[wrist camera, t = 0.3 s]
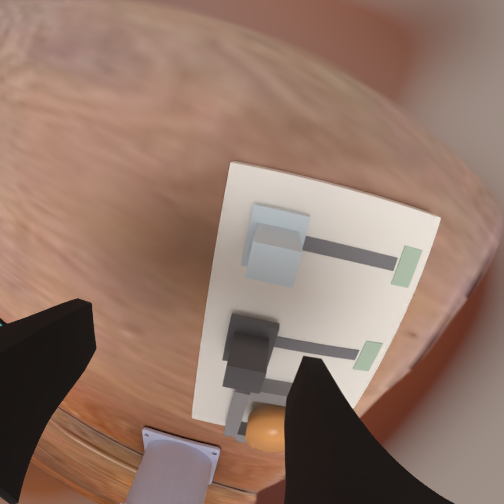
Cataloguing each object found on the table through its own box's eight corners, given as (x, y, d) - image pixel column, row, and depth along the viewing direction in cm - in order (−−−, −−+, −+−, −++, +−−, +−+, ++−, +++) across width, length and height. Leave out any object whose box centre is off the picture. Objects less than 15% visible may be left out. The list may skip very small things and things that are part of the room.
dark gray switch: (267, 363, 18) (263, 404, 15) (223, 354, 18) (212, 394, 15) (279, 323, 17) (278, 363, 14) (231, 313, 17) (220, 351, 14)
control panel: (330, 427, 23) (333, 453, 20) (195, 405, 23) (187, 430, 20) (429, 212, 16) (452, 224, 13) (235, 160, 16) (225, 164, 14)
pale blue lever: (294, 272, 16) (296, 306, 13) (242, 261, 16) (232, 292, 13) (309, 214, 15) (317, 235, 12) (254, 202, 15) (246, 219, 12)
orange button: (289, 436, 20) (289, 454, 18) (243, 429, 20) (241, 447, 18) (304, 409, 19) (305, 428, 17) (253, 401, 19) (250, 420, 17)
